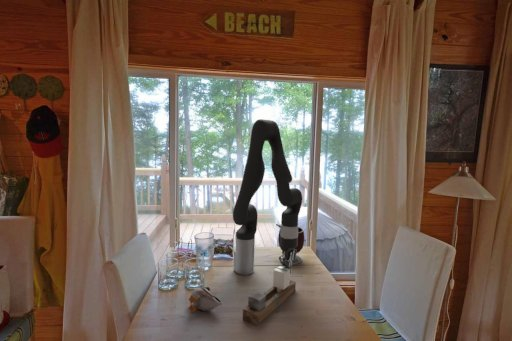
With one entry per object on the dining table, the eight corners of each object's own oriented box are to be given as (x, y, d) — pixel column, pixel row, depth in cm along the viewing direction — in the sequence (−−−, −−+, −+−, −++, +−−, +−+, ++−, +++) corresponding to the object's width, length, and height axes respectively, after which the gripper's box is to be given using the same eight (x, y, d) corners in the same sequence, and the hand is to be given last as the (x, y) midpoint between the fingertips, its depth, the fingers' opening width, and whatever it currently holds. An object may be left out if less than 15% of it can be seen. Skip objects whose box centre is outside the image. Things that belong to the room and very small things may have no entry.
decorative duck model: (200, 278, 123) (233, 283, 119) (199, 296, 123) (232, 301, 119) (180, 292, 109) (217, 298, 105) (180, 312, 109) (216, 319, 105)
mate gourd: (300, 254, 168) (301, 220, 166) (305, 265, 154) (307, 228, 152) (273, 254, 167) (274, 220, 165) (276, 265, 153) (277, 227, 151)
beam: (242, 319, 106) (243, 298, 106) (283, 286, 131) (283, 269, 130) (256, 325, 103) (257, 304, 102) (295, 290, 128) (296, 273, 127)
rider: (272, 290, 122) (273, 269, 122) (278, 286, 127) (279, 265, 126) (283, 294, 120) (284, 272, 119) (289, 289, 124) (290, 268, 123)
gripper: (288, 229, 133) (287, 266, 134) (273, 237, 122) (272, 277, 123) (303, 232, 128) (302, 270, 130) (289, 241, 117) (288, 282, 119)
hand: (287, 273), depth 127 cm, fingers closed
